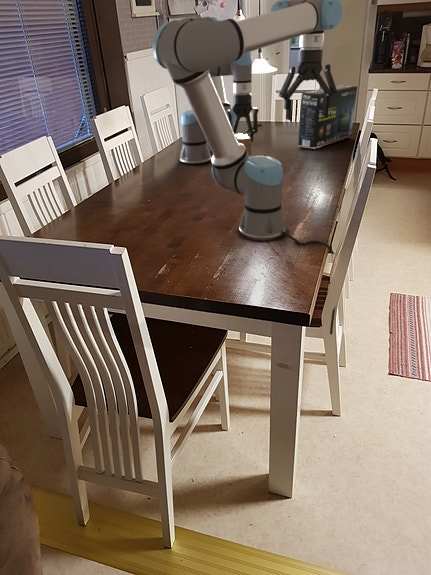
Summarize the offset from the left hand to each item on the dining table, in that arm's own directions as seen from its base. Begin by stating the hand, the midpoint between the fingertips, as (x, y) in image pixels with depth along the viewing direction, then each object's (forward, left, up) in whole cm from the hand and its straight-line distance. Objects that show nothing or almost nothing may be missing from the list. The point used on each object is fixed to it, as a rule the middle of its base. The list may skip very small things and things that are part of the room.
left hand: (242, 150), depth 200 cm
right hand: (+34, +24, +20) cm, 46 cm away
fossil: (-53, -11, -10) cm, 55 cm away
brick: (0, 0, -1) cm, 1 cm away
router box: (-51, +42, -10) cm, 67 cm away
